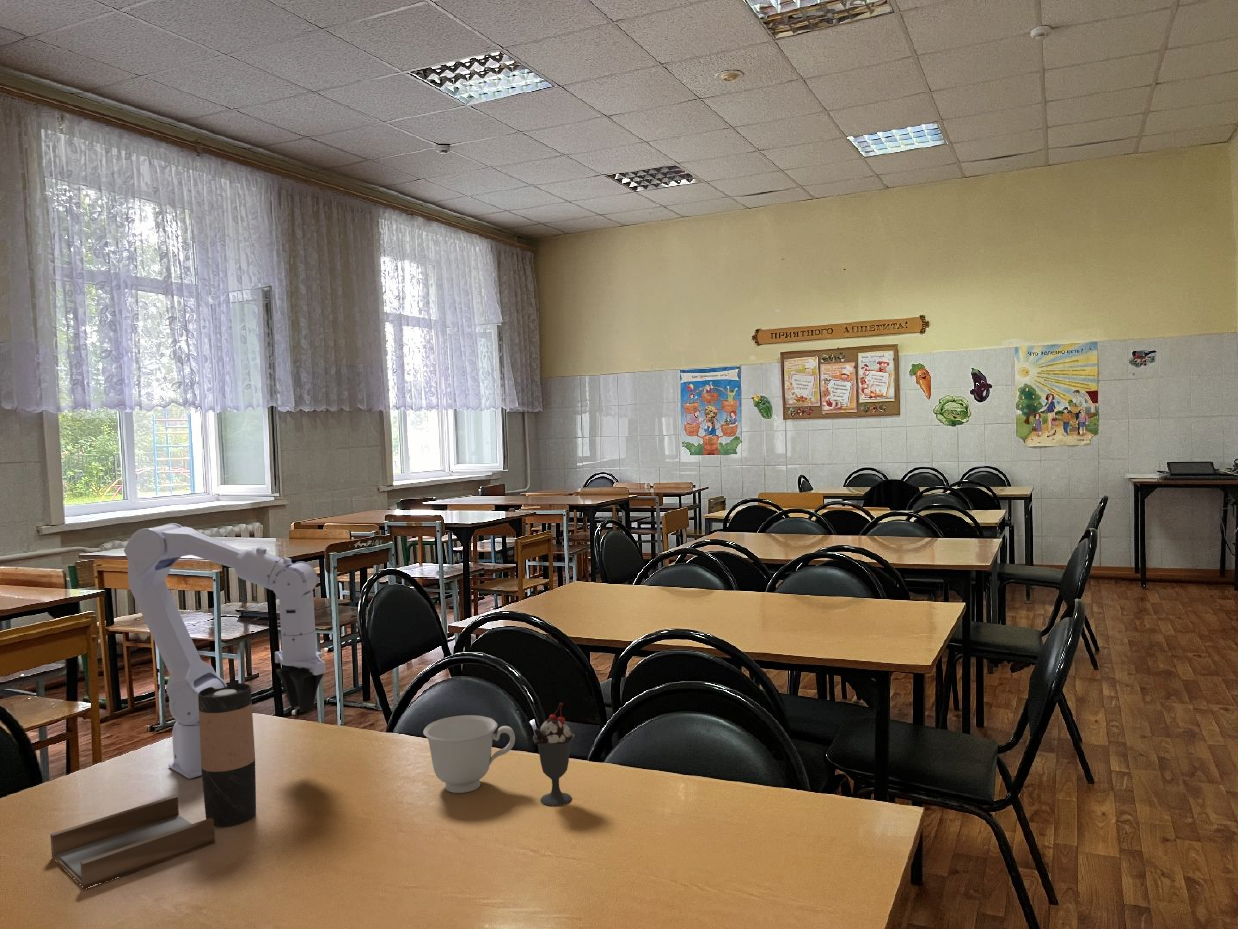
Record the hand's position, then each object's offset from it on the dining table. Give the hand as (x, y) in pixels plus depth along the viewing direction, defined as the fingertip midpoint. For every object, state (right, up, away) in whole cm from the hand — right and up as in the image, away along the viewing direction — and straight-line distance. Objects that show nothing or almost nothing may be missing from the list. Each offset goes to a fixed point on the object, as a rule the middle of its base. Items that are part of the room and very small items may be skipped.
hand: (301, 708), depth 160 cm
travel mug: (-4, -12, -20) cm, 24 cm away
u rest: (-13, -12, -30) cm, 35 cm away
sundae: (+46, -10, -18) cm, 51 cm away
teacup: (+32, -10, -11) cm, 35 cm away
